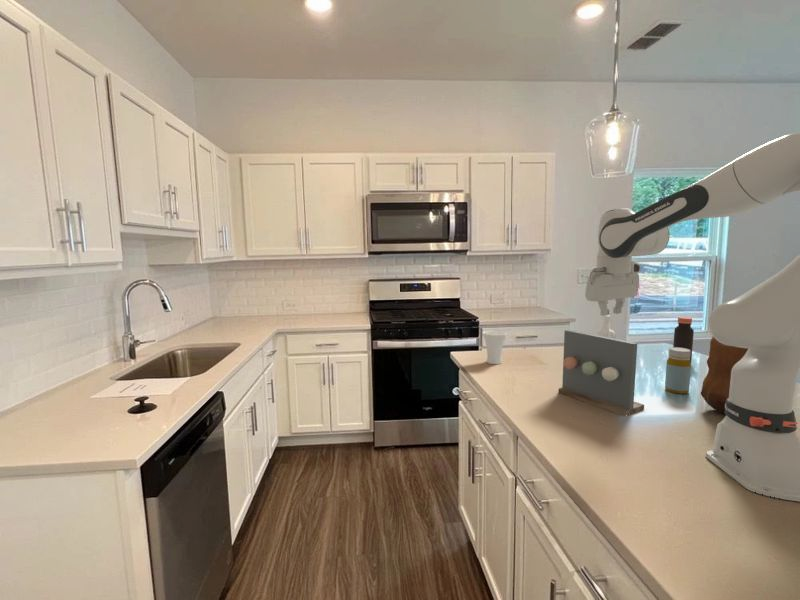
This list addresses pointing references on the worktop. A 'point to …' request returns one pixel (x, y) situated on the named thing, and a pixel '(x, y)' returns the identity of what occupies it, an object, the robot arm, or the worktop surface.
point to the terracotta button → (570, 363)
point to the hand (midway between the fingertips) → (611, 314)
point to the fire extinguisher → (606, 329)
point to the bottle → (678, 370)
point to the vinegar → (684, 334)
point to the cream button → (610, 373)
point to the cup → (494, 345)
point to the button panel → (594, 386)
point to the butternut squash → (720, 373)
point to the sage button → (589, 368)
